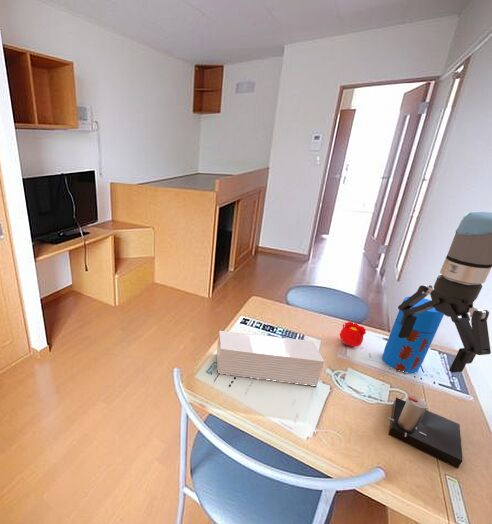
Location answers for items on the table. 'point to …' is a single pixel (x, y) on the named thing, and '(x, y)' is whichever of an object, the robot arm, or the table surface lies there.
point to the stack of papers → (268, 358)
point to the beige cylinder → (412, 414)
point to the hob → (430, 435)
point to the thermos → (412, 340)
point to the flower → (352, 334)
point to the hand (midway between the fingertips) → (427, 352)
